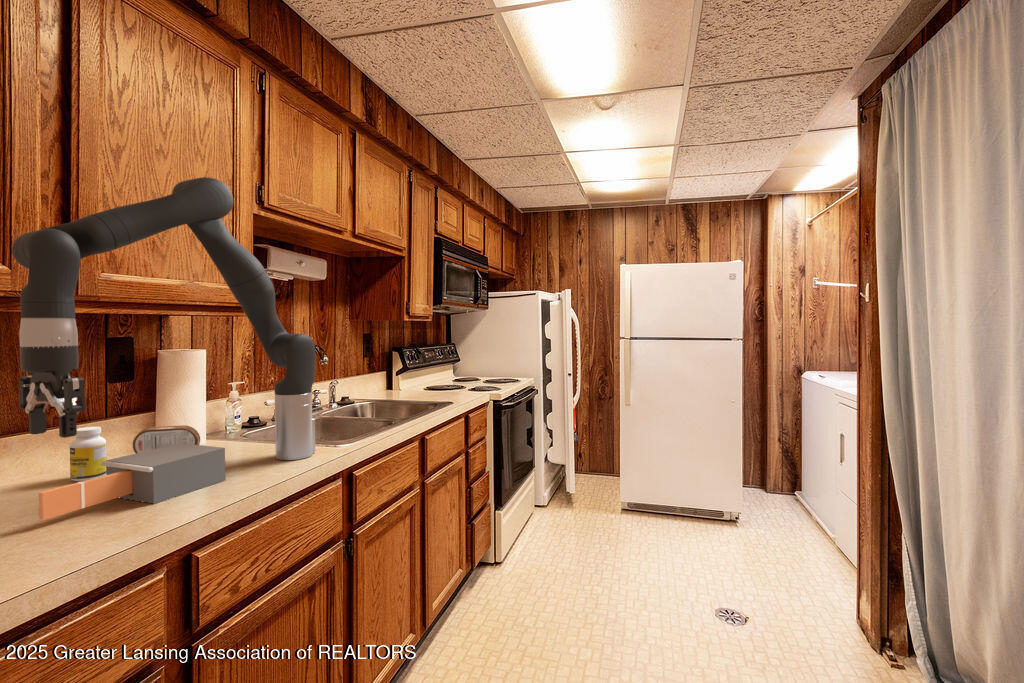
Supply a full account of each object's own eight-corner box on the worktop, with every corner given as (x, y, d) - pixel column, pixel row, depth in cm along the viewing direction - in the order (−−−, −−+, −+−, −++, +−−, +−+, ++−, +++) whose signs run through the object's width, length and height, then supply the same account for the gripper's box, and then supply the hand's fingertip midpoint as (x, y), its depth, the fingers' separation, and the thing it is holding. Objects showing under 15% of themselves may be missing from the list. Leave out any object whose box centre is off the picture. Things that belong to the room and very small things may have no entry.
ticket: (145, 487, 103) (144, 465, 103) (149, 488, 103) (149, 465, 103) (38, 519, 86) (38, 492, 86) (43, 520, 86) (42, 493, 86)
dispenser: (181, 474, 117) (180, 443, 117) (225, 480, 112) (224, 447, 112) (101, 497, 101) (100, 461, 101) (148, 505, 96) (147, 467, 96)
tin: (200, 453, 137) (200, 423, 137) (198, 456, 134) (197, 425, 134) (135, 458, 132) (134, 427, 131) (131, 461, 129) (130, 429, 129)
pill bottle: (65, 479, 113) (63, 429, 113) (98, 472, 119) (97, 424, 119) (78, 483, 110) (77, 432, 110) (112, 476, 116) (111, 427, 116)
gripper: (100, 343, 88) (102, 433, 89) (50, 343, 93) (53, 428, 93) (48, 345, 81) (52, 442, 82) (-2, 344, 86) (1, 436, 86)
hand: (52, 435), depth 88 cm, fingers open, 8 cm apart
